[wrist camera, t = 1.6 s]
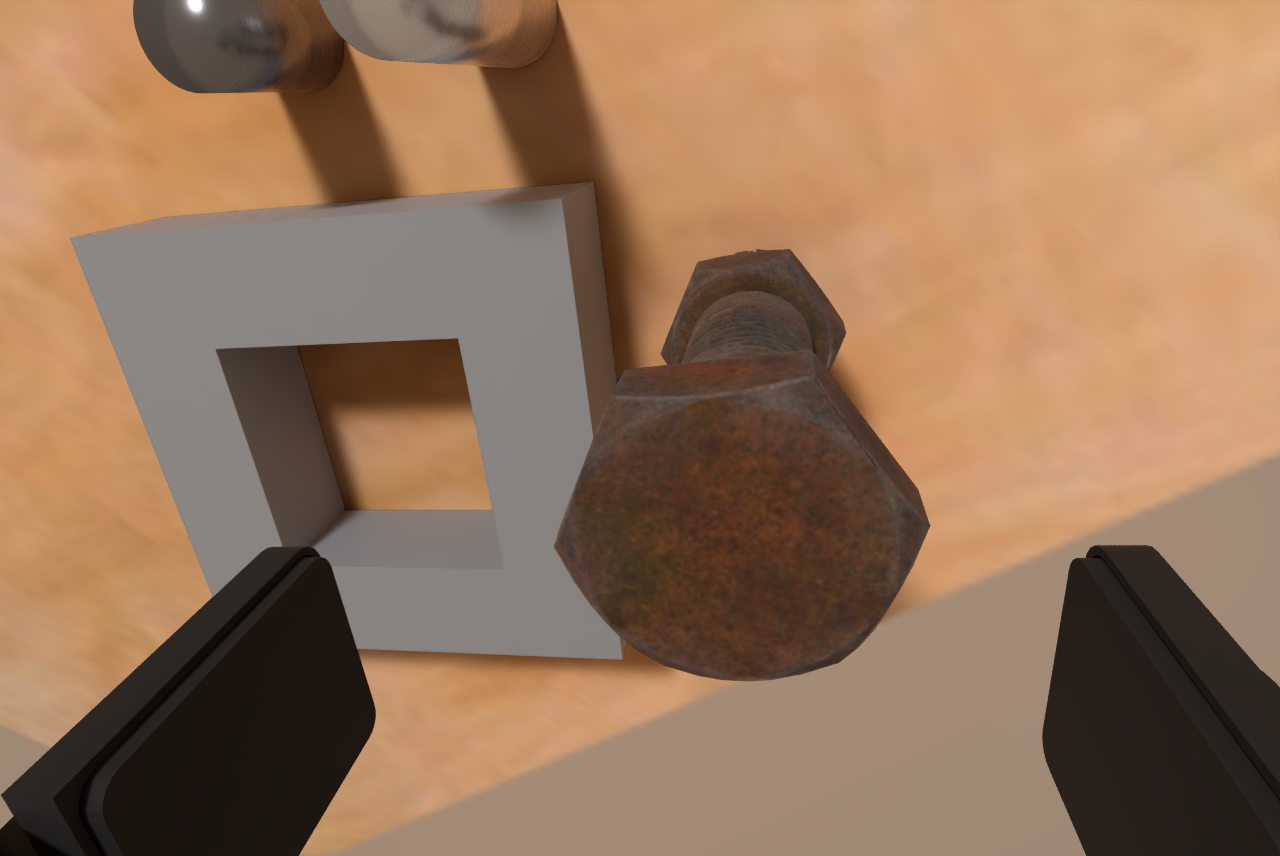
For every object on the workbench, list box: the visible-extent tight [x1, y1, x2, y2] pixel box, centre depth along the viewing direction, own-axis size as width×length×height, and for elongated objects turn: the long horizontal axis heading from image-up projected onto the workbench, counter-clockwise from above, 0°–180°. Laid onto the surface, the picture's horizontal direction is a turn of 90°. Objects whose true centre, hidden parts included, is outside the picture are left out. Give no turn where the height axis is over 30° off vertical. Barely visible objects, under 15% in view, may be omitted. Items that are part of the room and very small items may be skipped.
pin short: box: [133, 0, 344, 93], centre depth 21 cm, size 3×3×5 cm
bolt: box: [554, 249, 930, 681], centre depth 18 cm, size 6×5×15 cm
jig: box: [70, 182, 627, 660], centre depth 27 cm, size 16×16×4 cm
